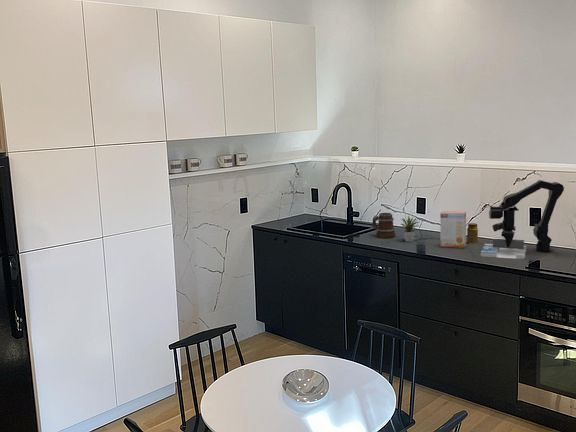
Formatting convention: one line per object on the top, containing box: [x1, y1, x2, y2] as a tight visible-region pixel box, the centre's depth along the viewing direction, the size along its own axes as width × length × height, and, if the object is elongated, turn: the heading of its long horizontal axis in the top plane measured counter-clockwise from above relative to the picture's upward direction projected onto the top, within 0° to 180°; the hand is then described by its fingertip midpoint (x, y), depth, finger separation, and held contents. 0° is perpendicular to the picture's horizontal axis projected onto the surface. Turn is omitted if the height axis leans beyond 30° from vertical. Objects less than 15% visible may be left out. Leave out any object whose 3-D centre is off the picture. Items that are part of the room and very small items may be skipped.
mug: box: [371, 212, 396, 239], centre depth 385 cm, size 16×12×15 cm
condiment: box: [466, 222, 479, 246], centre depth 355 cm, size 7×8×12 cm
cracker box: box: [439, 210, 467, 249], centre depth 349 cm, size 14×6×21 cm, turn 65°
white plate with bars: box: [480, 243, 527, 260], centre depth 328 cm, size 22×22×4 cm
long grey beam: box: [492, 238, 525, 249], centre depth 331 cm, size 16×4×4 cm, turn 66°
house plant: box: [400, 214, 420, 243], centre depth 368 cm, size 14×14×16 cm
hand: (508, 246), depth 331 cm, fingers closed on long grey beam, 4 cm apart
